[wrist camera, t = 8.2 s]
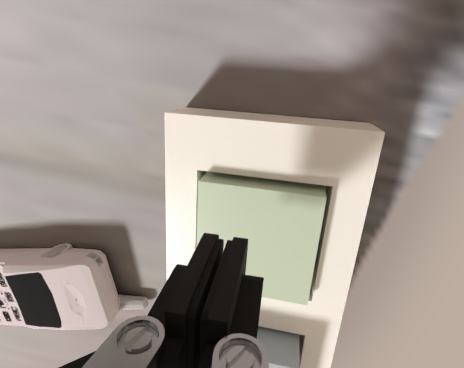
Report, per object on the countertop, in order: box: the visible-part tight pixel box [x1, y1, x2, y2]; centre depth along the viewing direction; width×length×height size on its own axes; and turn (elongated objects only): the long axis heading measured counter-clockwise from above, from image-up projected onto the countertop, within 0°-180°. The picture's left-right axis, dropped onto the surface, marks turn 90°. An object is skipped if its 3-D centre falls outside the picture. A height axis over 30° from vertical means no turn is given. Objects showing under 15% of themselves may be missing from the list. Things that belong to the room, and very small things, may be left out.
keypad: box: [165, 107, 385, 368], centre depth 20 cm, size 30×10×3 cm, turn 177°
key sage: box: [197, 171, 327, 305], centre depth 16 cm, size 6×6×2 cm
